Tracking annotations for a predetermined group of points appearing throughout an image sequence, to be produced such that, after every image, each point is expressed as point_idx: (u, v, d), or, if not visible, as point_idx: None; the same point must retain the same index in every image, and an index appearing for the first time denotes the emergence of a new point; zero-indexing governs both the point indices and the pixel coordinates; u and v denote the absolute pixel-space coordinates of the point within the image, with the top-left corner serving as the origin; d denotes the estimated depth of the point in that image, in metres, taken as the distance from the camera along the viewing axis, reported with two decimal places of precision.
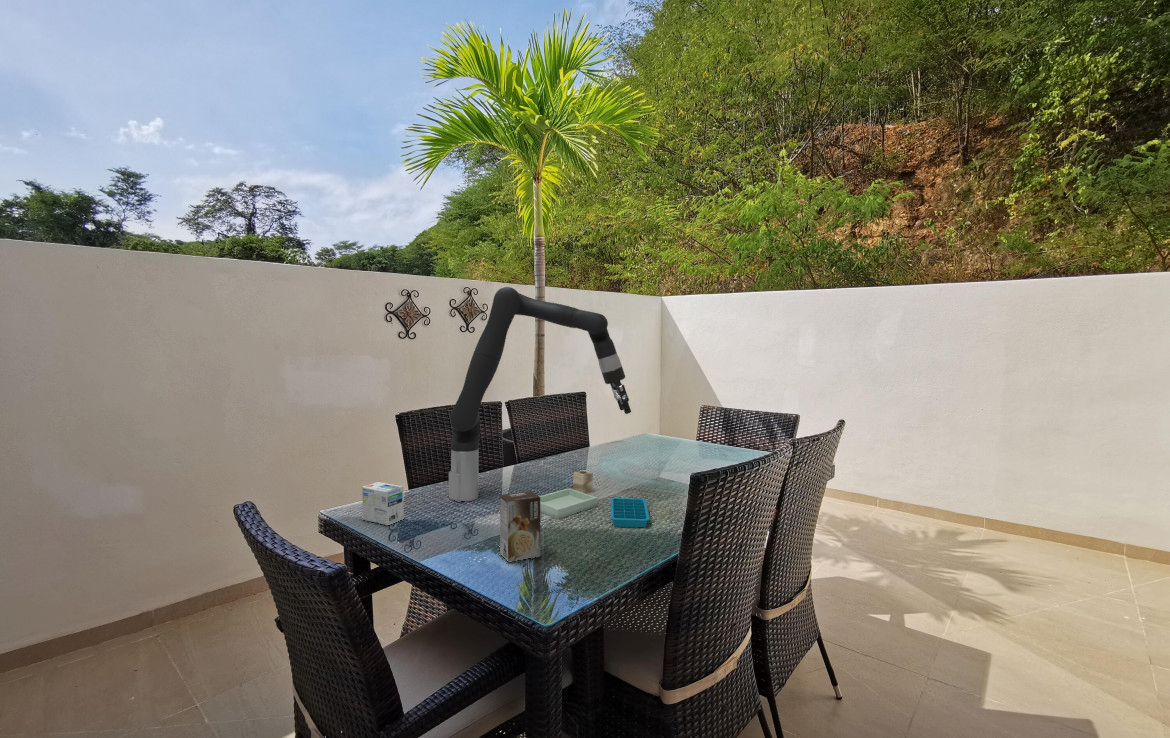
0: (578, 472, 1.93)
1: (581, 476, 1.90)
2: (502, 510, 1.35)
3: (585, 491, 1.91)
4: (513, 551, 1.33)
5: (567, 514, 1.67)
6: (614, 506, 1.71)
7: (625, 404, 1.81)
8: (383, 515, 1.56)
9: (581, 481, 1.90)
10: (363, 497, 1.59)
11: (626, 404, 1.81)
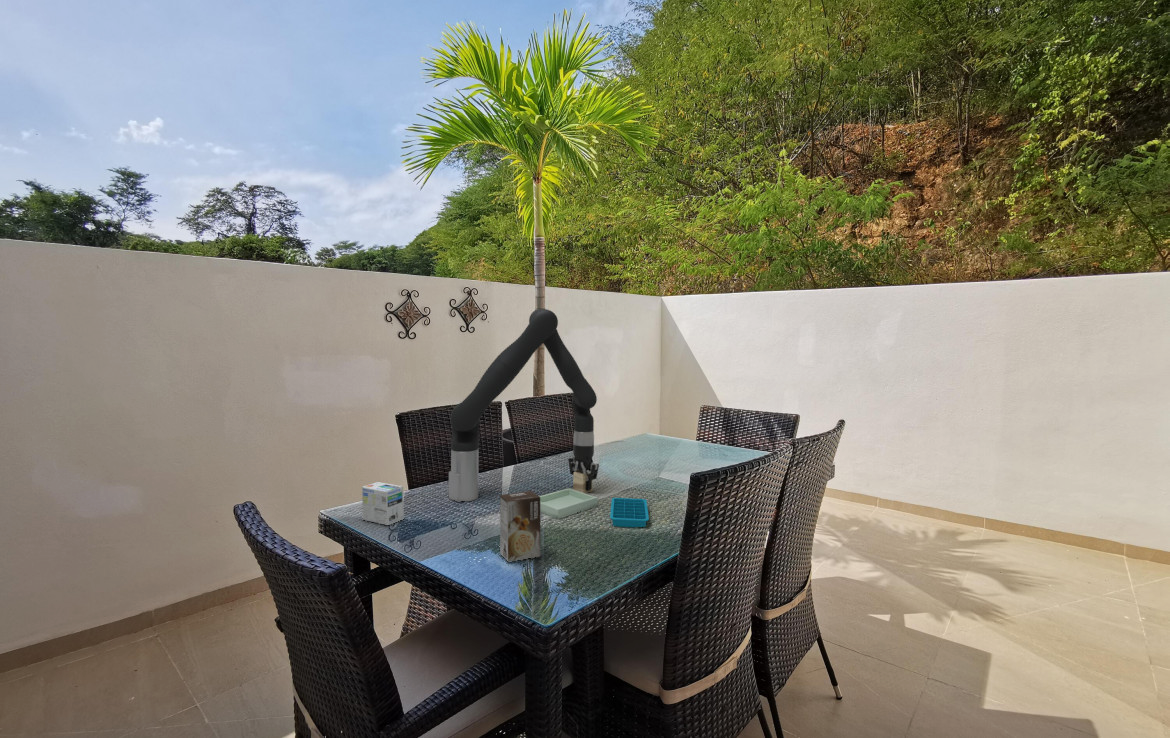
0: (578, 472, 1.93)
1: (581, 476, 1.90)
2: (502, 510, 1.35)
3: (585, 491, 1.91)
4: (513, 551, 1.33)
5: (567, 514, 1.67)
6: (614, 506, 1.71)
7: (590, 481, 1.90)
8: (383, 515, 1.56)
9: (581, 481, 1.90)
10: (363, 497, 1.59)
11: (590, 481, 1.91)
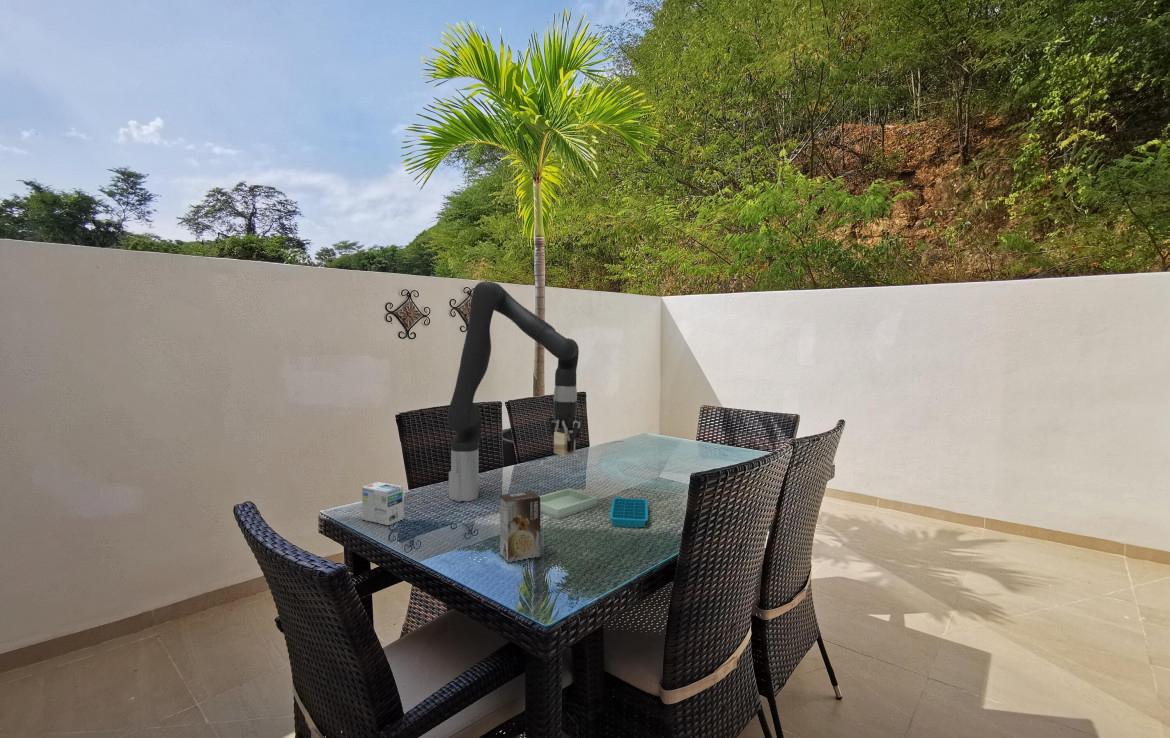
0: (559, 432, 1.74)
1: (562, 435, 1.71)
2: (502, 510, 1.35)
3: (567, 452, 1.72)
4: (513, 551, 1.33)
5: (567, 514, 1.67)
6: (615, 506, 1.71)
7: (572, 442, 1.71)
8: (383, 515, 1.56)
9: (562, 441, 1.71)
10: (363, 497, 1.59)
11: (572, 442, 1.72)
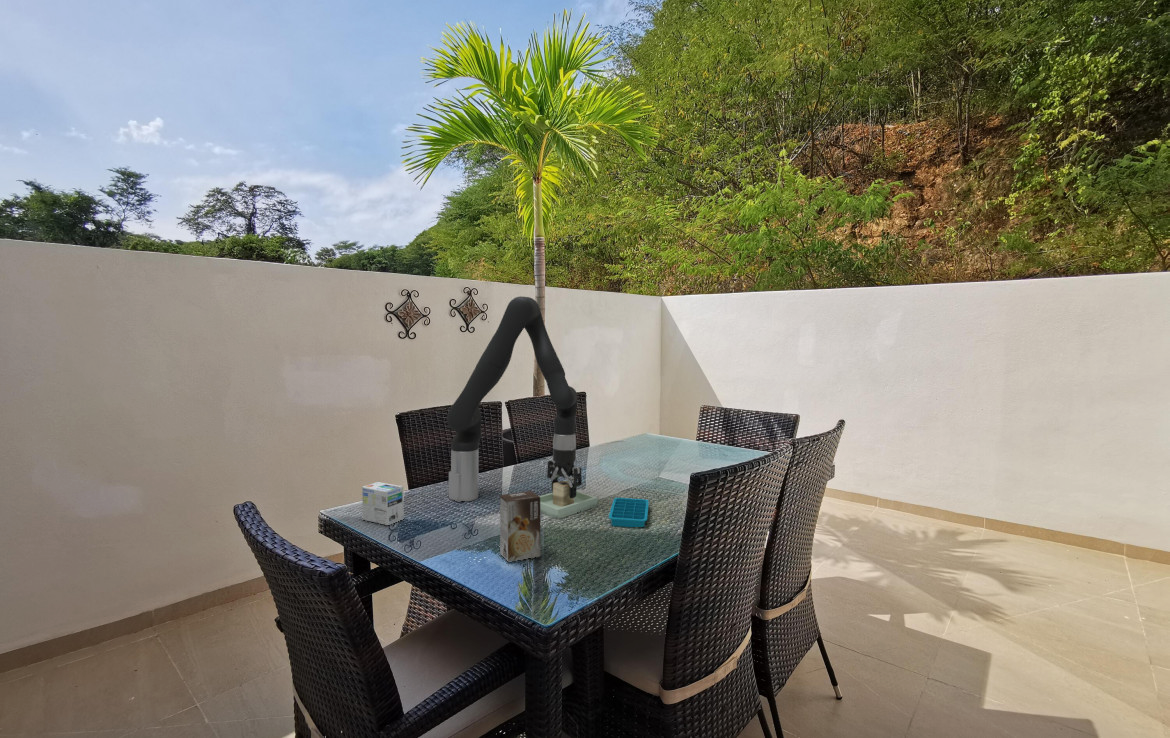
0: (558, 483, 1.75)
1: (561, 487, 1.72)
2: (502, 510, 1.35)
3: (566, 504, 1.73)
4: (513, 551, 1.33)
5: (567, 514, 1.67)
6: (615, 506, 1.72)
7: (574, 488, 1.71)
8: (383, 515, 1.56)
9: (561, 493, 1.72)
10: (363, 497, 1.59)
11: (575, 488, 1.72)
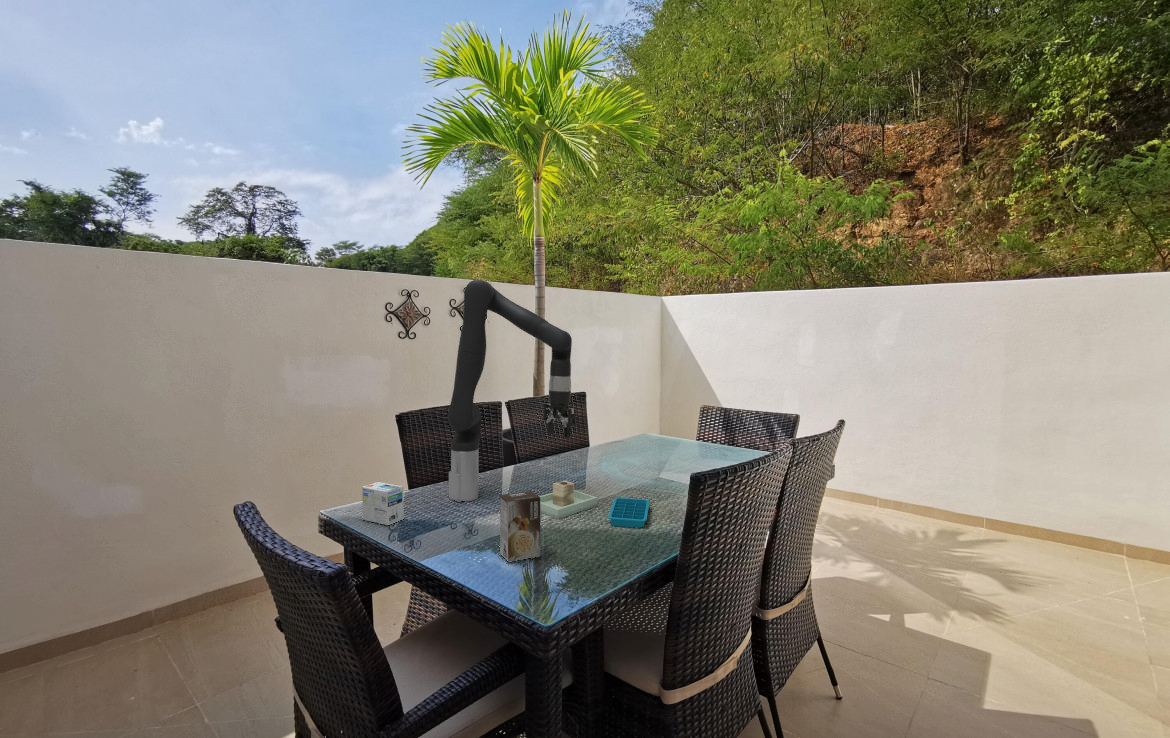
0: (558, 483, 1.75)
1: (561, 487, 1.72)
2: (502, 510, 1.35)
3: (566, 504, 1.73)
4: (513, 551, 1.33)
5: (567, 514, 1.67)
6: (616, 505, 1.72)
7: (568, 428, 1.77)
8: (383, 515, 1.56)
9: (561, 493, 1.72)
10: (363, 497, 1.59)
11: (569, 428, 1.77)
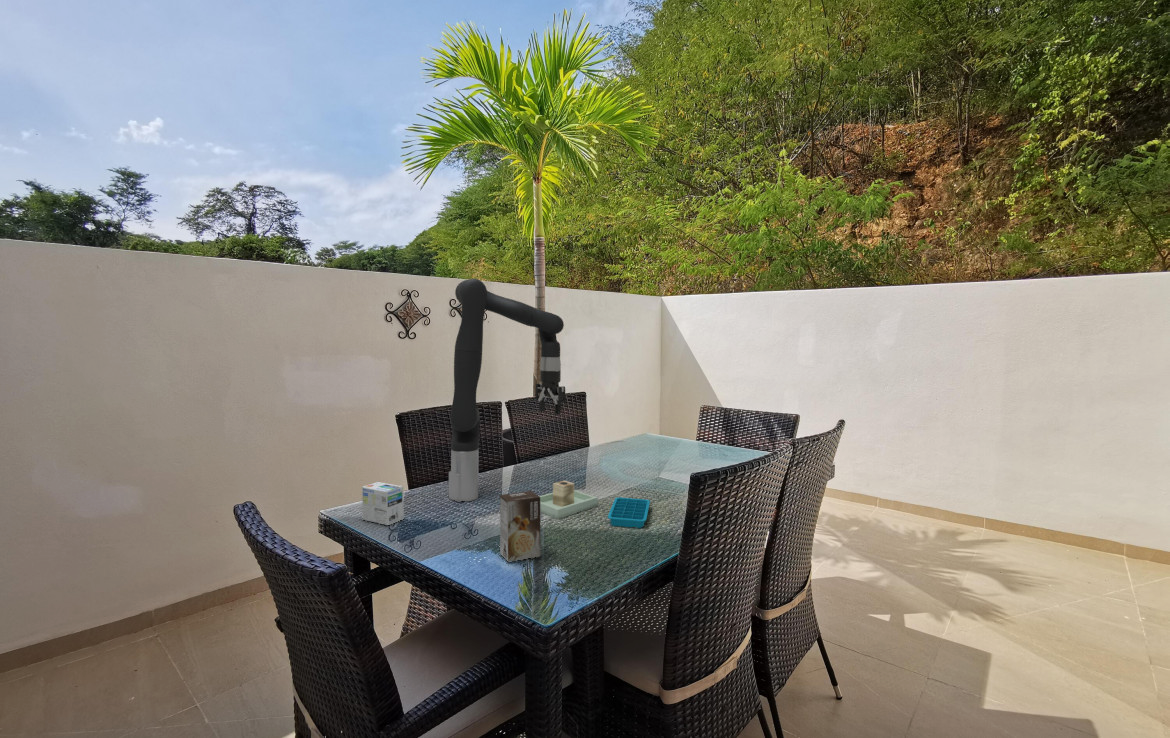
0: (558, 483, 1.75)
1: (561, 487, 1.72)
2: (502, 510, 1.35)
3: (566, 504, 1.73)
4: (513, 551, 1.33)
5: (567, 514, 1.67)
6: (616, 505, 1.72)
7: (559, 405, 1.91)
8: (383, 515, 1.56)
9: (561, 493, 1.72)
10: (363, 497, 1.59)
11: (559, 405, 1.92)
